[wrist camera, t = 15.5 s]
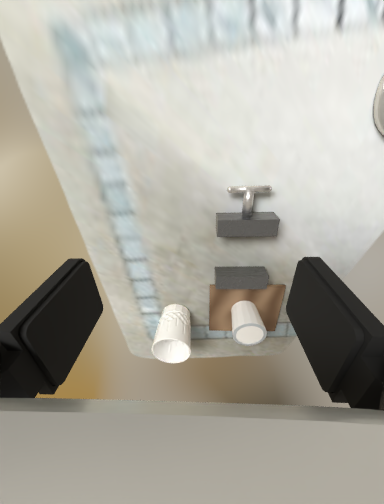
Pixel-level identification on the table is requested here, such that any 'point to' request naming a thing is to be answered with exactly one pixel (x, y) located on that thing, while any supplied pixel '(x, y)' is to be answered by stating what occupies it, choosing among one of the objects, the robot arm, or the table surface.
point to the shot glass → (247, 324)
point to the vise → (240, 227)
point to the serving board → (262, 298)
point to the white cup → (173, 335)
